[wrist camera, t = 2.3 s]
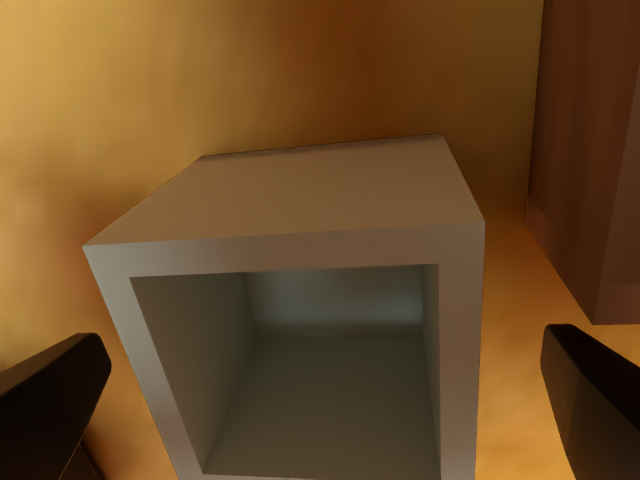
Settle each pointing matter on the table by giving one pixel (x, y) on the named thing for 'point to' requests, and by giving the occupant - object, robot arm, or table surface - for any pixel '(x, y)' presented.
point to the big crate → (589, 154)
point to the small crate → (305, 312)
